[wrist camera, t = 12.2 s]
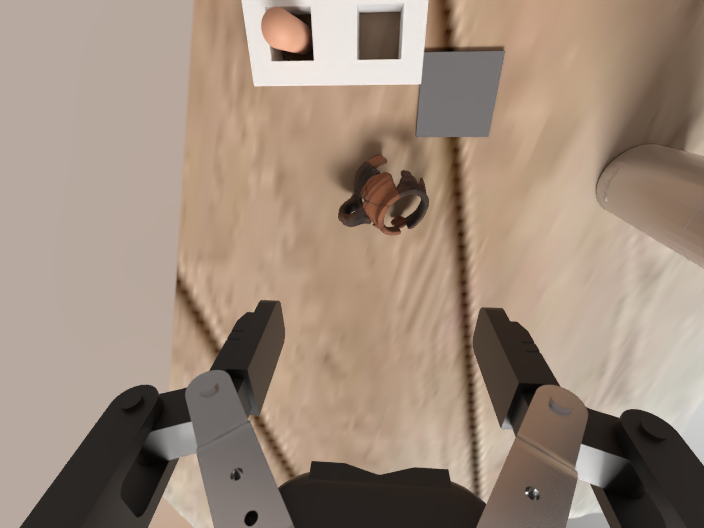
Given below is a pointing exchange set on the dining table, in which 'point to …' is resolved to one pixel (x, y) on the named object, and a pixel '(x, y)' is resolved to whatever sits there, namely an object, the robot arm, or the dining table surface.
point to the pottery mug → (382, 198)
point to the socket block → (337, 44)
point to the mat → (458, 93)
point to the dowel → (286, 31)
